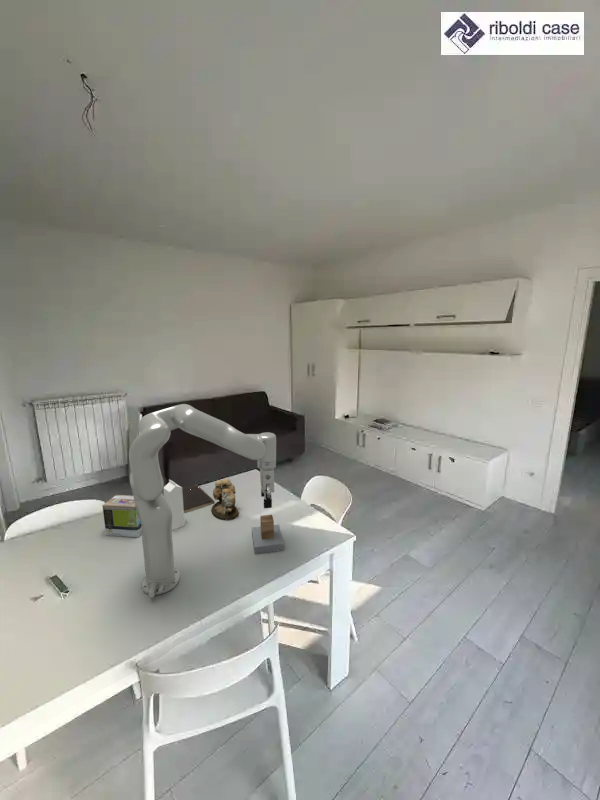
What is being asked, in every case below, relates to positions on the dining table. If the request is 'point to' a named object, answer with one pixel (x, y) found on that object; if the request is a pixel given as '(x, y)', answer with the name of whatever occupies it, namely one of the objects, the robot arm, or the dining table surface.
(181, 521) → the milk
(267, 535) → the walnut block
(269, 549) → the slate platform
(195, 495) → the hardcover book
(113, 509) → the tea box
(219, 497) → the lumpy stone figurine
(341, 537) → the dining table surface
